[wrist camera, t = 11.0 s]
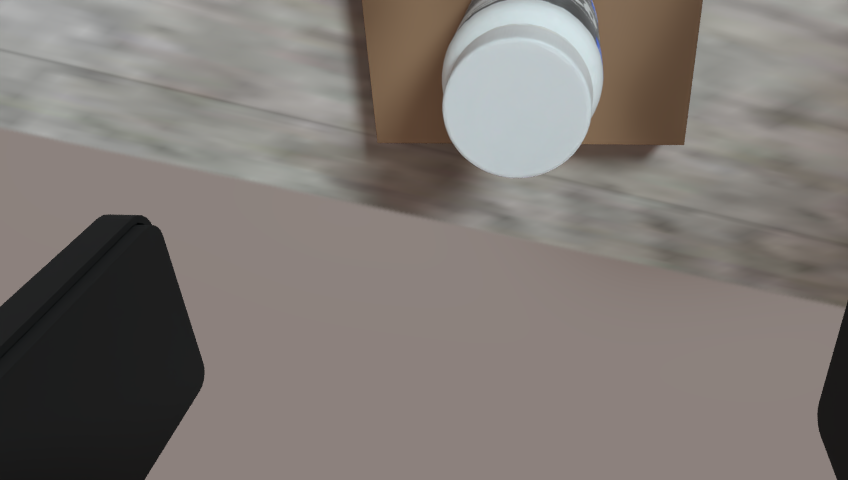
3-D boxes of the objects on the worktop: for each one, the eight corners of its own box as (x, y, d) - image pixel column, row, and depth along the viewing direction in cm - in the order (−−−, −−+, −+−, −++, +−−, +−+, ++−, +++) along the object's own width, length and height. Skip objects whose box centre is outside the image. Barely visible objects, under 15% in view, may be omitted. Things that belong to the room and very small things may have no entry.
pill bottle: (620, 50, 26) (639, 147, 19) (505, 110, 28) (484, 219, 21) (558, -71, 24) (554, -14, 17) (441, 2, 26) (394, 80, 19)
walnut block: (707, -124, 24) (718, -118, 23) (677, 124, 29) (683, 144, 27) (364, -105, 26) (351, -98, 25) (387, 124, 31) (377, 142, 30)
